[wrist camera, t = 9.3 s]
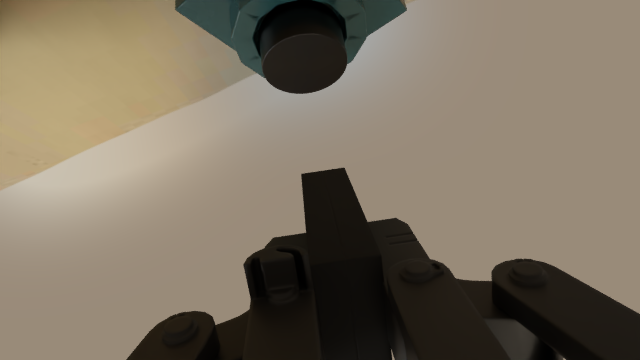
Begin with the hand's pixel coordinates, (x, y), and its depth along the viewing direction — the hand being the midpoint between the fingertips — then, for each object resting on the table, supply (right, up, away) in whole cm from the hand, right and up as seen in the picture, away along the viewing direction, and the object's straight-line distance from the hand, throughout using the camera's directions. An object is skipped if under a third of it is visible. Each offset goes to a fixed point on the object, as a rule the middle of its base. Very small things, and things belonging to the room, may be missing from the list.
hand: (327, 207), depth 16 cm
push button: (-1, +10, +11) cm, 14 cm away
